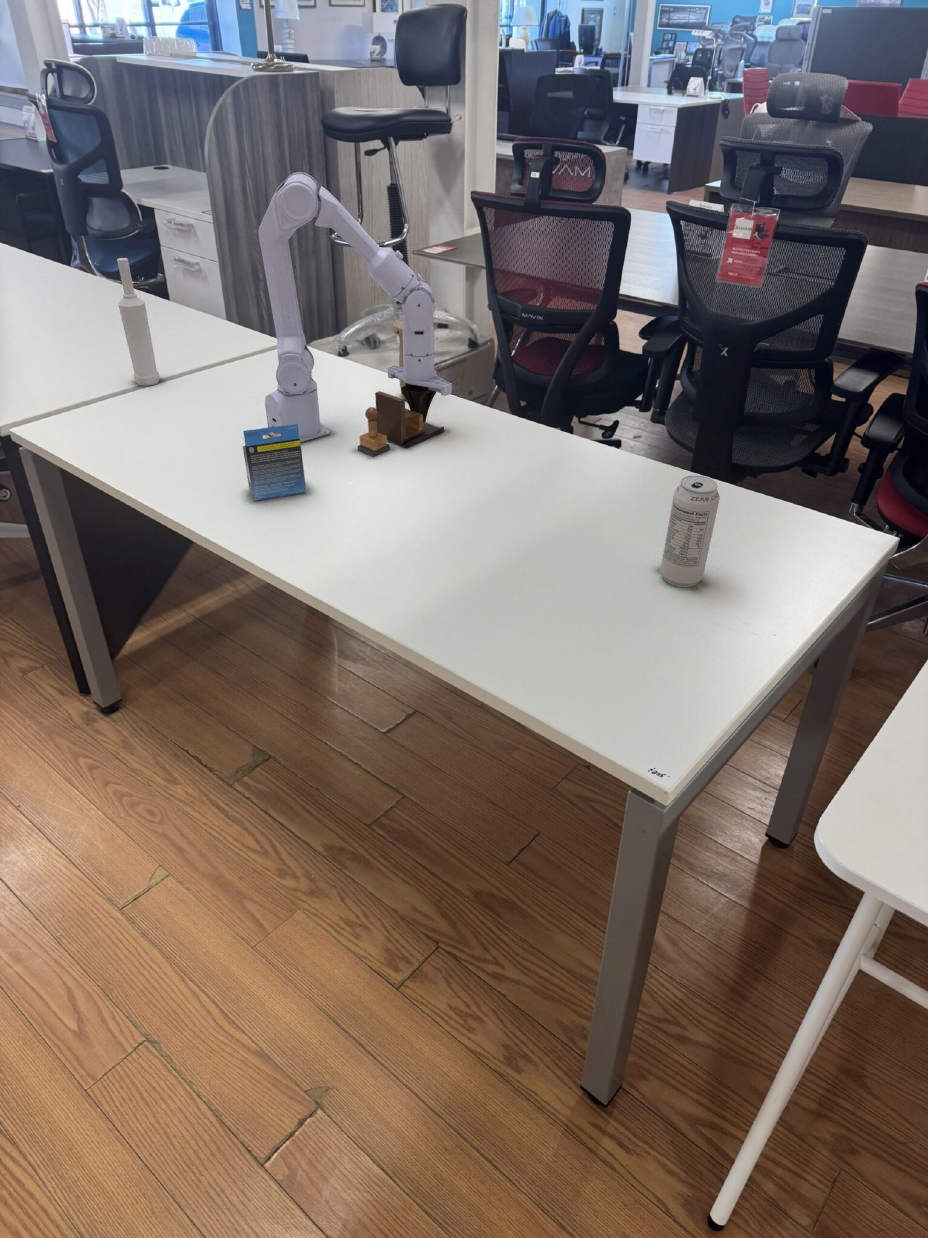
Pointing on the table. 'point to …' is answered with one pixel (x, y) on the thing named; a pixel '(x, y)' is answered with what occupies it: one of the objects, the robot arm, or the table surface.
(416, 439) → the track
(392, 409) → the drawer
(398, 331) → the handle
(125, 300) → the bottle
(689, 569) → the energy drink can
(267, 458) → the blue product box
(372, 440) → the stamp
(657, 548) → the table surface
